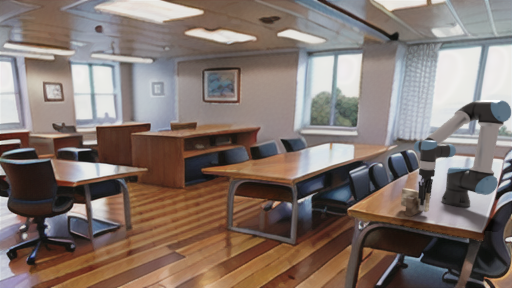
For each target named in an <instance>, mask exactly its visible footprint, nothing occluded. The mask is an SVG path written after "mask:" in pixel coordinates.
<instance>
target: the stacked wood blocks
mask: <svg viewBox="0 0 512 288" xmlns="http://www.w3.org/2000/svg"><path fill="white" fill-rule="evenodd" d="M418 193H419V190H416V189H412V188H406V187H403V188H402V189H401V200H400V201H401V203H400V206H402V207H405V208H406V198H407V197H410V196H413V197H417V198H416V201H419V202H418V210H419V206H420V199H418ZM430 197H431V196H430V193H426V196H425V200H426V204H425V211H423V212H424V213H428V212H429V211H430V202H431V201H430V200H431V198H430ZM420 211H421V210H420ZM421 212H422V211H421Z"/></svg>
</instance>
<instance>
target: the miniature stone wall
mask: <svg viewBox="0 0 512 288" xmlns="http://www.w3.org/2000/svg"><path fill="white" fill-rule="evenodd" d="M416 198H417V197H413V196H410V197H407V198H406V207H405V216H408V217H413V216H415V215H418V214H419V213H422V211H420V210H418V202H419V201H416Z"/></svg>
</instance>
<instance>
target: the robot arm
mask: <svg viewBox="0 0 512 288" xmlns="http://www.w3.org/2000/svg"><path fill="white" fill-rule="evenodd" d="M453 114H454V115H453V116H451V118H449V119H447V121H446V122H445V123H443V124H442V125H440V126H439V127H438V128H437V129H436V130H434V131H433V132H432V133H431V134H430V135H428V136H427V137H426V138H424V139H423V140H417V141H416V142H415V143H414V144H413V149H414V151H415V152H416V153H418V154H420V156H419V157H420V158H419V161H418V163H419V168H418V175H419V176H420V177H421V179H420V181H418V191H419V193H418V199H420V206H419V210H421V212H424V211H425V204H426V200H425V196H426V193H430V199H431V196H432V189H433V181H434V179H433V178H432V177H434V176H435V175H436V173H435V172H436V162H437V161H436V160H437V158H439V159H440V158H442V159H443V158H445V159H448V158H452V157H454V156H455V155H456V153H457V150H456V146H455V145H453V144H452V143H443V142H445V141H446V140H447V139H448V138H449V137H451V136H452V135H453V134H455V133H456V132H457V131H458V130H460V129H461V128H462V127H463V126H464V125H468V124H470V122H473V121H477V124H478V125H479V126H480V127H479V133H478V137H477V144H476V148H475V149H476V150H475V155H474V161H473V166H471V167H466V166H465V167H464V166H463V167H459V166H457V167H453V166H452V167H449V168H448V169H447V173H446V185H445V190H444V192H443V194H442V197H441V202H442V203H443V204H446V205H449V206H452V207H460V208H461V207H462V208H467V207H470V206H471V199H470V196H469V192H471V193H476V194H477V195H478V194H479V195H484V196H486V195H487V196H488V195H491V194H493V193H494V191H496V189H497V188H498V184H499V181H498V179H497V177H496V176H494V175H495V171H494V170H493V169H492V168H493V164H494V163H493V162H494V156H495V152H496V147H497V142H498V136H499V133H500V132H499V131H500V128H501V127H503V126H504V123H505V122H507V121H509V119H510V118H511V116H512V108H511V105H510V104H509V102H507V101H505V100H500V99H492V100H491V99H490V100H475V101H471V102H469V103H467V104H465V105H463V106H462V107H460V108H459V109H458V110H455V112H454V113H453Z"/></svg>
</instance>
